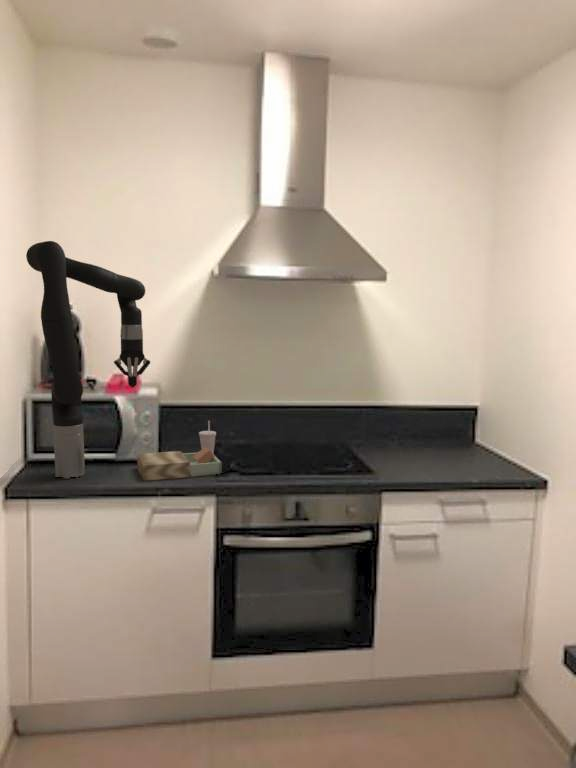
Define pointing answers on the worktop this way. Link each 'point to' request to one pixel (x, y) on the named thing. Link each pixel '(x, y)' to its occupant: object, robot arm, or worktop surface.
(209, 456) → the orange brown lump
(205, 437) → the smoothie
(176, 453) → the chevron patterned box
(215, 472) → the box
